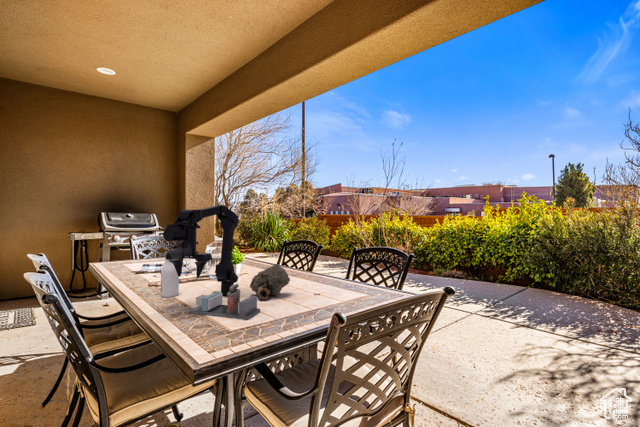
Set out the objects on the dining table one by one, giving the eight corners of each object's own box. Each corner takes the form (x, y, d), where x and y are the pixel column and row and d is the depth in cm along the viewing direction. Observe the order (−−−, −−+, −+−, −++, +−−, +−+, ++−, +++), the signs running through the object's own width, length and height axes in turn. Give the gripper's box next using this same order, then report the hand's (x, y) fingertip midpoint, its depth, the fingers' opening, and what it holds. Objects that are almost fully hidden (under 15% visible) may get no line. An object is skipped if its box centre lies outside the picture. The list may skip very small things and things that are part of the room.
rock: (275, 258, 157) (271, 257, 142) (294, 280, 155) (292, 281, 140) (247, 283, 154) (240, 284, 140) (266, 305, 153) (261, 309, 138)
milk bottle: (182, 294, 150) (182, 253, 150) (169, 298, 143) (170, 255, 143) (169, 292, 153) (170, 252, 152) (156, 296, 145) (157, 254, 145)
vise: (204, 305, 132) (205, 291, 132) (260, 311, 125) (260, 296, 125) (189, 313, 122) (189, 297, 122) (248, 319, 116) (248, 303, 115)
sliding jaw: (206, 302, 132) (206, 290, 132) (223, 304, 130) (223, 292, 130) (190, 309, 122) (191, 296, 122) (208, 311, 120) (208, 298, 120)
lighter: (232, 313, 119) (233, 287, 118) (224, 313, 119) (225, 287, 119) (242, 307, 126) (242, 283, 126) (234, 306, 127) (234, 282, 127)
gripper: (155, 240, 123) (155, 279, 123) (195, 242, 118) (195, 282, 118) (175, 238, 134) (174, 274, 134) (213, 239, 129) (212, 277, 129)
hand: (188, 277), depth 128 cm, fingers open, 9 cm apart
